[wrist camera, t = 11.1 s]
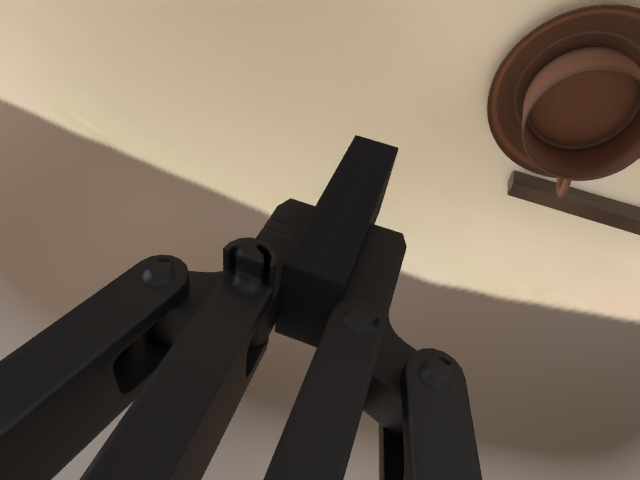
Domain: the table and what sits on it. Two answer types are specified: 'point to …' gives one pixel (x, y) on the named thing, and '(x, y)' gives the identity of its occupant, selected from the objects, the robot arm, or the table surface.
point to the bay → (575, 202)
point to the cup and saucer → (571, 96)
